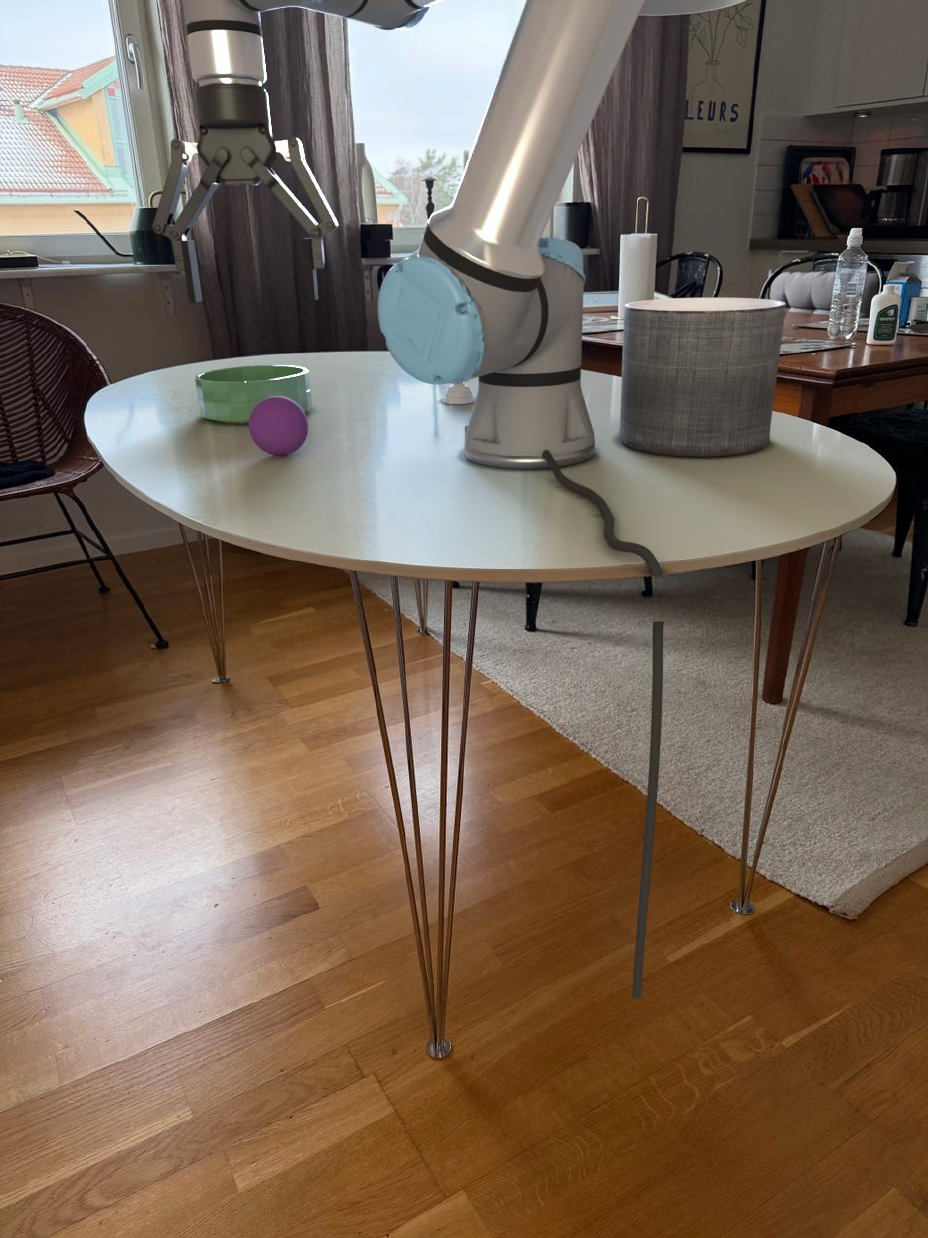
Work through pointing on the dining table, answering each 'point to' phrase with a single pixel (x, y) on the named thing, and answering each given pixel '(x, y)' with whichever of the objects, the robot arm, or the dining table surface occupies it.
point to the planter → (699, 375)
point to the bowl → (249, 390)
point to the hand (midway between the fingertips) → (254, 301)
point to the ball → (278, 425)
